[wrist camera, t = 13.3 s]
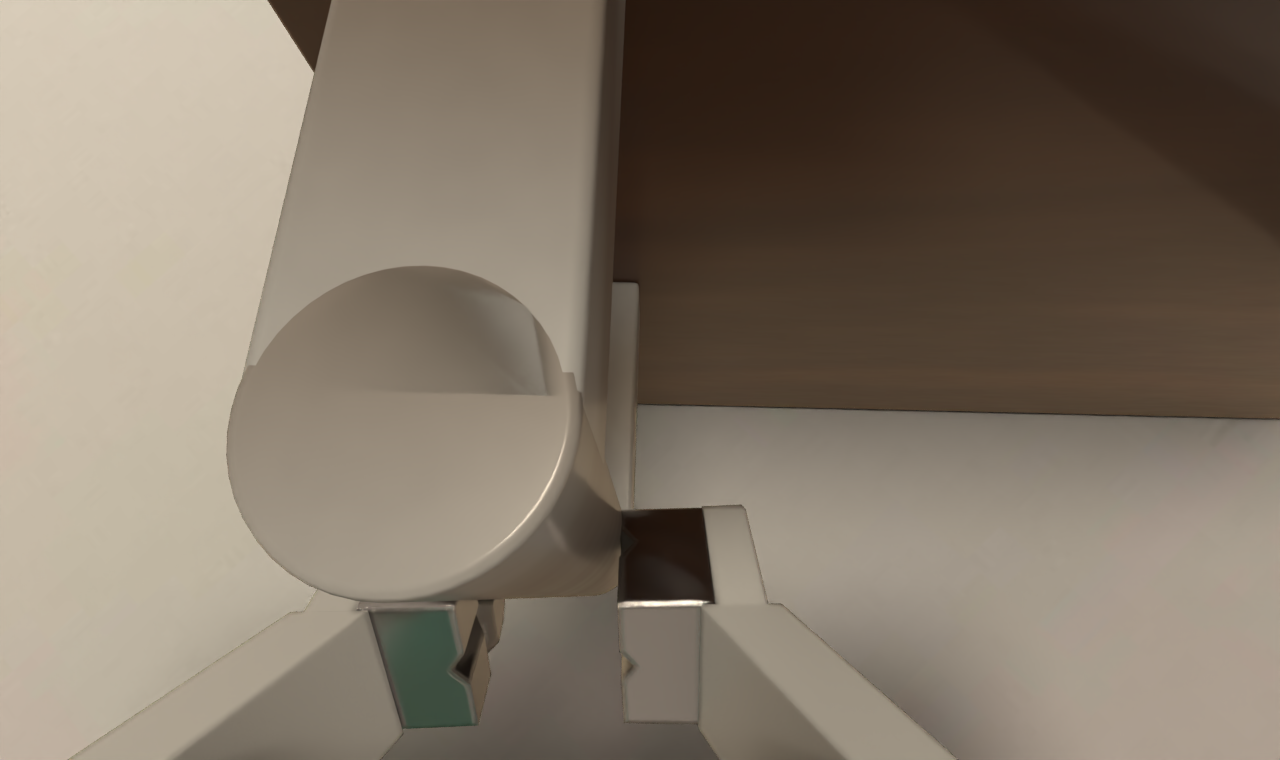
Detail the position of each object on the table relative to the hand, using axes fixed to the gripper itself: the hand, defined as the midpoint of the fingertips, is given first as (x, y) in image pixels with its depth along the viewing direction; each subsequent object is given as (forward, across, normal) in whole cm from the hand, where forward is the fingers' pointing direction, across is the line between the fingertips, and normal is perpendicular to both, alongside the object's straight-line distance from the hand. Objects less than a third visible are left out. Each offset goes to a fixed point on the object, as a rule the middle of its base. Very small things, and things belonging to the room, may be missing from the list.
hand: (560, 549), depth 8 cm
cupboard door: (+10, -9, +6) cm, 15 cm away
